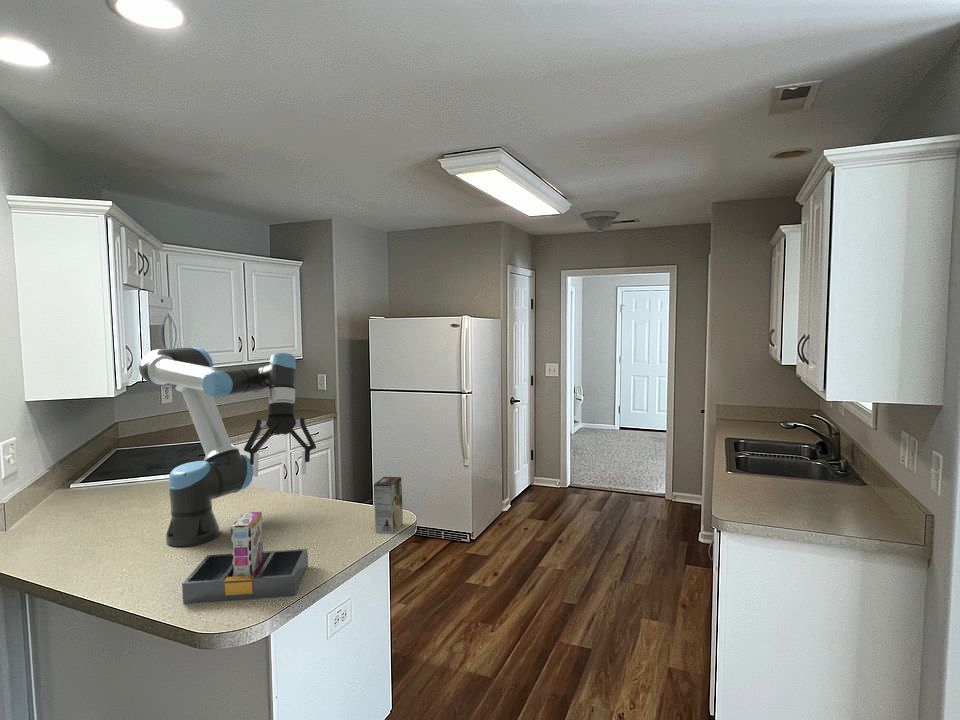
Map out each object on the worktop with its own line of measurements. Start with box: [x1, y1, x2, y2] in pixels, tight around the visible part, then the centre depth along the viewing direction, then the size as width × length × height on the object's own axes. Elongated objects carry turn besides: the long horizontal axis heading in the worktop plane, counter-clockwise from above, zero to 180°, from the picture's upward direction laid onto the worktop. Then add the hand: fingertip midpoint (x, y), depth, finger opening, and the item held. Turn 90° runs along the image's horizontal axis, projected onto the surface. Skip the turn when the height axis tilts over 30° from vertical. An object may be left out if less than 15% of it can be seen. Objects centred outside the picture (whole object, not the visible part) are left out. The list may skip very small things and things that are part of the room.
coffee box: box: [373, 476, 404, 534], centre depth 184 cm, size 9×6×16 cm
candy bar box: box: [230, 511, 264, 577], centre depth 147 cm, size 11×5×16 cm, turn 7°
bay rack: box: [181, 548, 309, 605], centre depth 147 cm, size 26×17×5 cm, turn 96°
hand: (279, 475), depth 165 cm, fingers open, 13 cm apart
